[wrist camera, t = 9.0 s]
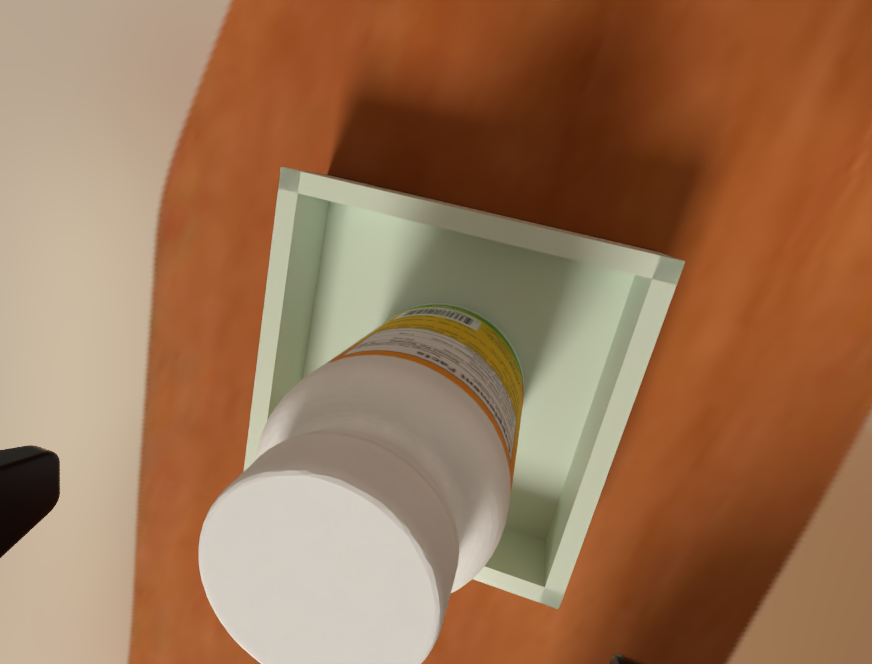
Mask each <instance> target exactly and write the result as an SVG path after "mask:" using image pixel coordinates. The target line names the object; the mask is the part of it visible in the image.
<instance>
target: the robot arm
mask: <svg viewBox="0 0 872 664" xmlns="http://www.w3.org/2000/svg"><path fill="white" fill-rule="evenodd" d="M59 463H60V462H59V458H58V456H57V454H55V453H54V452H52V451H49V450H46V449H43V448H41V447H37V446H23V447H17V448H12V449H5V450H0V558H1V557H2V556H3V555H4V554H5V553H6V552H7V551H8V550H9V549H11V547H13V546H14V545H15V544H16V543H17V542H18V541H19V540H20V539H21V538H22V537H24V536H25V535H26V534H27V533H28V532H29V531H30V530H31V529H32V528H33V527H34V526H35V525H36V524H37V523H38V522H40V521H41V520H42V519H43V518H44V517H45V516H46V515H47V514H48V513H49V512H50V511H51V510H52V509H53V508H54V506H55V505H56V503H57V501H58V499H59V494H60V482H59V481H60V477H59V475H60V472H59V471H60V469H59V467H60V466H59V465H60V464H59ZM609 664H644V663H643V662H640V661H638V660H635V659H632V658H629V657H626V656H624V655H621V654H616V655H614V656H613V657H612V658H611V660H610V662H609Z"/></svg>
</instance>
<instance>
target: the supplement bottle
mask: <svg viewBox="0 0 872 664" xmlns="http://www.w3.org/2000/svg"><path fill="white" fill-rule="evenodd" d="M523 398H524V378H523V372H522V368H521V364H520V361H519V358H518V356H517V353H516V351H515V350H514V348H513V346H512V344H511V342H510V341H509V339H508V338H507V337H506V335H505V334H504V333H503V332H502V331H501V330H500V329H499V328H498V327H497V326H496V325H495V324H494V323H493V322H491V321H490V320H489V319H488V318H486V317H484V316H483V315H481V314H479V313H477V312H475V311H473V310H471V309H468V308H465V307H462V306H459V305H454V304H448V303H430V304H424V305H419V306H416V307H412V308H410V309H407V310H405V311H403V312H401V313H399V314H398V315H396V316H394V317H393V318H391V319H389V320H388V321H386V322H385V323H383V324H382V325H381V326H379V327H378V328H376V329H375V330H373V331H372V332H370V333H369V334H368V335H366V336H365V337H363V338H362V339H360V340H359V341H358V342H356V343H355V344H353V345H352V346H350V347H349V348H347V349H346V350H344V351H343V352H342V353H340V354H339V355H337V356H336V357H334V358H333V359H331V360H330V361H328V362H327V363H325V364H324V365H322V366H321V367H319V368H318V369H316V370H315V371H313V372H312V373H311V374H309V375H308V376H307V377H305V378H304V379H303V380H301V381H300V382H299V383H298V384H297V385H296V386H294V387H293V388H292V389H291V390H290V391H289V392H288V393H287V394H286V395H285V396H284V397H283V398H282V399H281V401H280V402H279V403H278V404H277V406H276V407H275V409H274V410H273V412H272V413H271V415H270V417H269V419H268V421H267V423H266V425H265V427H264V429H263V432H262V434H261V437H260V441H259V444H258V449H257V456H256V461H255V462H254V463H253V464H252V465H251V466H250V467H249V468H247V469H246V470H245V471H244V472H243V473H242V474H241V475H240V476H239V477H238V478H237V479H236V480H234V481H233V482H232V483H231V484H230V485H229V486H228V487H227V488H226V489H225V490H224V491H223V492H222V493H221V494H220V495H219V496H218V498H217V499H216V500H215V502H214V503H213V505H212V506H211V508H210V509H209V512H208V514H207V516H206V519H205V521H204V523H203V527H202V530H201V535H200V541H199V568H200V575H201V579H202V582H203V585H204V589H205V592H206V595H207V597H208V600H209V602H210V604H211V606H212V608H213V610H214V612H215V613H216V615H217V617H218V618H219V620H220V622H221V623H222V625H223V626H224V627H225V628H226V630H227V631H228V633H229V634H230V635H231V636H232V637H233V639H234V640H235V641H236V642H237V643H238V644H239V645H240V646H241V647H242V648H243V649H244V650H245V651H246V652H248V653H249V654H250V655H251V656H252V657H253V658H255V659H256V660H257V661H258V662H260V663H261V664H421V663H422V662H423V661H424V660H425V658H426V657H427V656H428V655H429V653H430V651H431V650H432V648H433V646H434V644H435V642H436V640H437V638H438V636H439V633H440V630H441V627H442V624H443V620H444V617H445V613H446V609H447V606H448V602H449V598H450V594H451V593H452V592H454V591H456V590H458V589H460V588H461V587H463V586H464V585H465V584H467V583H468V582H469V581H470V580H472V579H473V578H474V577H475V576H476V575H477V574H478V573H479V572H480V571H481V570H482V568H483V567H484V566H485V565H486V563H487V562H488V561H489V559H490V558H491V556H492V555H493V553H494V551H495V549H496V547H497V546H498V544H499V542H500V539H501V536H502V534H503V531H504V528H505V524H506V520H507V515H508V510H509V505H510V498H511V490H512V483H513V475H514V468H515V460H516V453H517V446H518V438H519V430H520V422H521V414H522V407H523Z"/></svg>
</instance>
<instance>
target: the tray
mask: <svg viewBox="0 0 872 664" xmlns="http://www.w3.org/2000/svg"><path fill="white" fill-rule="evenodd" d="M684 263H685V261H683V260H680V259H677V258H674V257H671V256H668V255H666V254H663V253H660V252H656V251H652V250H648V249H644V248H639V247H635V246H631V245H626V244H622V243H618V242H614V241H609V240H605V239H601V238H596V237H592V236H588V235H584V234H579V233H575V232H571V231H566V230H562V229H558V228H554V227H549V226H545V225H541V224H536V223H532V222H528V221H523V220H519V219H515V218H511V217H506V216H502V215H498V214H493V213H489V212H485V211H481V210H476V209H472V208H468V207H463V206H459V205H455V204H451V203H446V202H442V201H438V200H433V199H429V198H425V197H421V196H416V195H412V194H408V193H403V192H399V191H395V190H391V189H386V188H382V187H378V186H373V185H369V184H365V183H360V182H356V181H352V180H348V179H343V178H339V177H335V176H330V175H326V174H320V173H314V172H308V171H302V170H297V169H291V168H285V167H281V171H280V179H279V187H278V196H277V204H276V212H275V220H274V228H273V236H272V245H271V253H270V261H269V269H268V277H267V285H266V293H265V302H264V310H263V318H262V326H261V334H260V342H259V350H258V359H257V367H256V375H255V383H254V391H253V399H252V407H251V416H250V424H249V432H248V440H247V448H246V456H245V465H244V471H245V470H246V469H247V468H249V467H250V466H251V465H252V464H253V463H254V462H255V461H256V456H257V449H258V444H259V441H260V437H261V434H262V432H263V429H264V427H265V425H266V423H267V421H268V419H269V417H270V415H271V413H272V412H273V410H274V409H275V407H276V406H277V404H278V403H279V402H280V401H281V399H282V398H283V397H284V396H285V395H286V394H287V393H288V392H289V391H290V390H291V389H292V388H293V387H294V386H296V385H297V384H298V383H299V382H300V381H301V380H303V379H304V378H305V377H307V376H308V375H309V374H311V373H312V372H313V371H315V370H316V369H318V368H319V367H321V366H322V365H324V364H325V363H327V362H328V361H330V360H331V359H333V358H334V357H336V356H337V355H339V354H340V353H342V352H343V351H344V350H346V349H347V348H349V347H350V346H352V345H353V344H355V343H356V342H358V341H359V340H360V339H362V338H363V337H365V336H366V335H368V334H369V333H370V332H372V331H373V330H375V329H376V328H378V327H379V326H381V325H382V324H383V323H385V322H386V321H388V320H389V319H391V318H393V317H394V316H396V315H398V314H399V313H401V312H403V311H405V310H407V309H410V308H412V307H416V306H419V305H424V304H430V303H448V304H454V305H459V306H462V307H465V308H468V309H471V310H473V311H475V312H477V313H479V314H481V315H483V316H484V317H486V318H488V319H489V320H490V321H491V322H493V323H494V324H495V325H496V326H497V327H498V328H499V329H500V330H501V331H502V332H503V333H504V334H505V335H506V337H507V338H508V339H509V341H510V342H511V344H512V346H513V348H514V350H515V351H516V353H517V356H518V358H519V361H520V364H521V368H522V372H523V378H524V398H523V407H522V414H521V422H520V430H519V438H518V446H517V453H516V460H515V468H514V475H513V483H512V490H511V498H510V505H509V510H508V515H507V520H506V524H505V528H504V531H503V534H502V536H501V539H500V542H499V544H498V546H497V547H496V549H495V551H494V553H493V555H492V556H491V558H490V559H489V561H488V562H487V563H486V565H485V566H484V567H483V568H482V570H481V571H480V572H479V573H478V574H477V575H476V576H475V577H474V578H473V579H474V580H477V581H479V582H482V583H485V584H488V585H491V586H494V587H497V588H499V589H502V590H505V591H508V592H511V593H514V594H517V595H519V596H522V597H525V598H528V599H531V600H534V601H537V602H539V603H542V604H545V605H548V606H551V607H554V608H556V609H559V607H560V604H561V601H562V598H563V596H564V593H565V590H566V587H567V585H568V582H569V579H570V577H571V574H572V571H573V568H574V566H575V563H576V560H577V557H578V555H579V552H580V549H581V546H582V544H583V541H584V538H585V535H586V533H587V530H588V527H589V524H590V522H591V519H592V516H593V513H594V511H595V508H596V505H597V502H598V500H599V497H600V494H601V491H602V489H603V486H604V483H605V480H606V478H607V475H608V472H609V469H610V467H611V464H612V461H613V458H614V456H615V453H616V450H617V447H618V445H619V442H620V439H621V436H622V434H623V431H624V428H625V425H626V423H627V420H628V417H629V415H630V412H631V409H632V406H633V404H634V401H635V398H636V395H637V393H638V390H639V387H640V384H641V382H642V379H643V376H644V373H645V371H646V368H647V365H648V362H649V360H650V357H651V354H652V351H653V349H654V346H655V343H656V340H657V338H658V335H659V332H660V329H661V327H662V324H663V321H664V318H665V316H666V313H667V310H668V307H669V305H670V302H671V299H672V296H673V294H674V291H675V288H676V285H677V283H678V280H679V277H680V274H681V272H682V269H683V266H684Z"/></svg>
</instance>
